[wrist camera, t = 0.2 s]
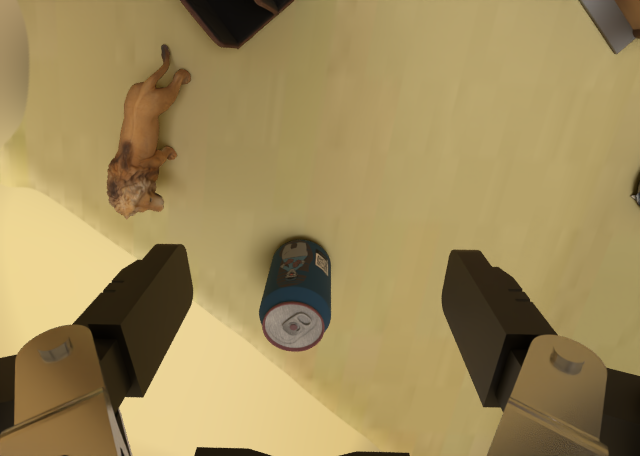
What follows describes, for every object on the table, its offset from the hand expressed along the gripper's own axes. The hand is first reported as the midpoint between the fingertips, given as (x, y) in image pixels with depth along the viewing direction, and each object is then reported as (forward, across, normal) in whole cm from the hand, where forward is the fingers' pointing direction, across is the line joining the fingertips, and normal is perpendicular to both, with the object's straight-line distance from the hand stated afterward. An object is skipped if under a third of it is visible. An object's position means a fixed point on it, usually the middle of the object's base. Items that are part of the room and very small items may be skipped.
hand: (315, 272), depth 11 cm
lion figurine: (+29, +16, +2) cm, 33 cm away
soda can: (+28, +2, +17) cm, 33 cm away
